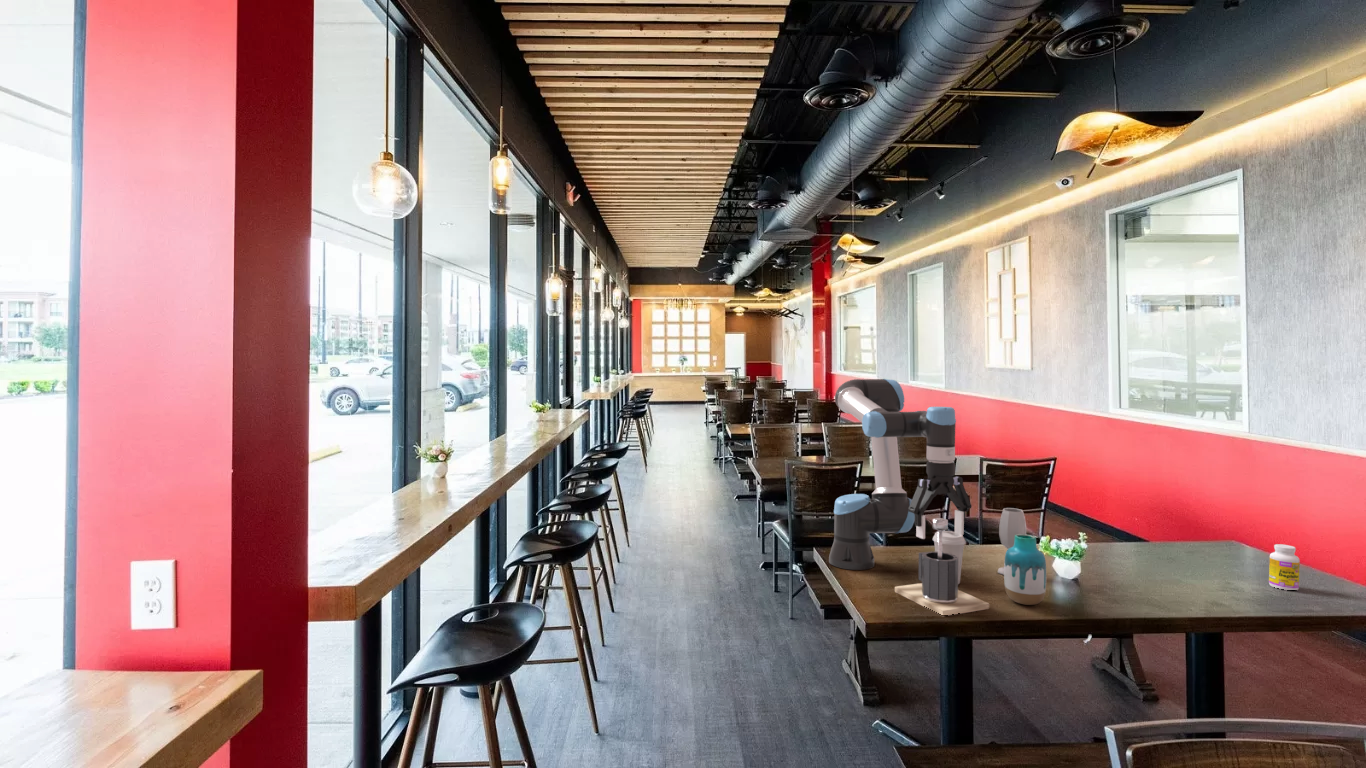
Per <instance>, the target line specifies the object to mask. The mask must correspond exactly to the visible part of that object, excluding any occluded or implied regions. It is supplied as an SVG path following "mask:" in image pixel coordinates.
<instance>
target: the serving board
mask: <svg viewBox="0 0 1366 768" xmlns="http://www.w3.org/2000/svg"><path fill="white" fill-rule="evenodd" d="M894 592H895V593H896V594H899V595H900V596H902V597H904V598H905V599H908V600H910V601H912V602H914V603H916V604H918V605H920V606H922V607H924V606H925V607H924V608H926V607H927V608H926V609H928V608H929V609H928V610H930V609H931V610H930V611H932V610H933V611H932V612H934V611H935V612H934V613H936V612H937V613H936V614H938V613H939V614H941V615H948V616H953V615H952V614H954V615H959V614H958V613H960V614H966V613H971V612H976V611H977V612H978V611H984V610H989V609H990V603H989V602H987V601H985V600H982V599H980V598H979V597H975V596H973V595H971V594H969V593H967V592H964V591H962V590H961V589H960V590H959V589H958V597H957V602H955V603H952V604H940V603H934V602H930V601H928V600H926V599H924V598H923V596H922V582H921V583H913V584H906V585H905V584H904V585H897V586H894ZM939 614H938V615H939ZM941 615H940V616H941Z"/></svg>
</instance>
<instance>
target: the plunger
mask: <svg viewBox="0 0 1366 768" xmlns="http://www.w3.org/2000/svg"><path fill="white" fill-rule="evenodd" d="M948 524H949V520H948V519H947V518H942V517H941V518H940V517H935V518H932V529H933V530H936V531H937V532H938V560H942V531H949V529H948V528H949V527H948V526H949V525H948Z"/></svg>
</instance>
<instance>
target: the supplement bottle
mask: <svg viewBox="0 0 1366 768" xmlns="http://www.w3.org/2000/svg"><path fill="white" fill-rule="evenodd" d="M1273 548H1274V551H1273V552H1271V553H1270V554H1269V566H1268V567H1269V568H1268V585H1269V586H1270V587H1272V588H1274V587H1275V589H1277V588H1279V589H1278V590H1281V589H1284V590H1283V591H1287V590H1297V591H1299V589H1300V587H1299V586H1300V558H1299V557H1298V556H1297V555H1295V553H1296V550H1297V549H1296V546H1293V545H1288V544H1284V543H1283V544H1282V543H1280V544H1278V543H1276V544H1274V545H1273Z"/></svg>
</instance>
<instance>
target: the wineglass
mask: <svg viewBox="0 0 1366 768" xmlns="http://www.w3.org/2000/svg"><path fill="white" fill-rule="evenodd" d="M998 527H999V528H998V536H999V540H1000V543H1001V545H1002V546H1004V547H1005V548H1006V550H1008V549H1009V548H1011V547H1013V546H1014V539H1015V535H1017V534H1026V535H1027V522H1026V517H1025V513H1024V511H1023V509H1019V508H1014V507H1004V508H1003V509H1002V512H1001V516H1000V520H999V525H998ZM997 573H998V574H1000V575H1003V576H1004V566H1003V567H998V569H997Z"/></svg>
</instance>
